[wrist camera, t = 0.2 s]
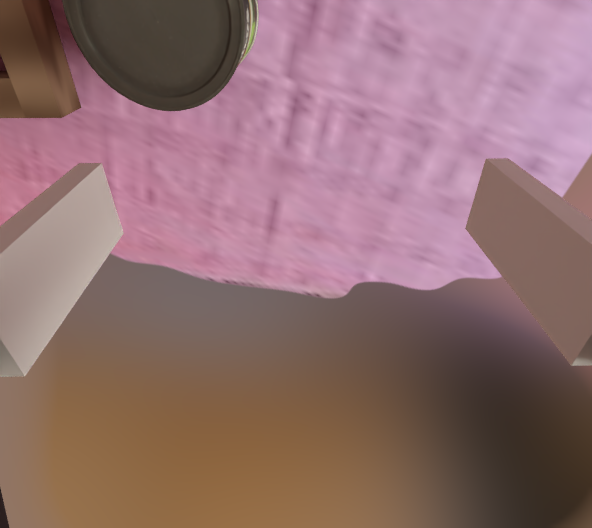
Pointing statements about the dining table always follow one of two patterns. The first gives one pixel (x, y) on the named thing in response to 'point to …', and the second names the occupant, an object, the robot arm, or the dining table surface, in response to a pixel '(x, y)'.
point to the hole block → (33, 63)
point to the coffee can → (164, 46)
